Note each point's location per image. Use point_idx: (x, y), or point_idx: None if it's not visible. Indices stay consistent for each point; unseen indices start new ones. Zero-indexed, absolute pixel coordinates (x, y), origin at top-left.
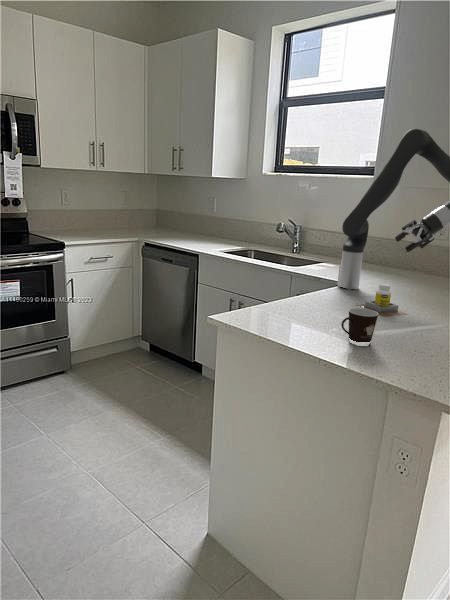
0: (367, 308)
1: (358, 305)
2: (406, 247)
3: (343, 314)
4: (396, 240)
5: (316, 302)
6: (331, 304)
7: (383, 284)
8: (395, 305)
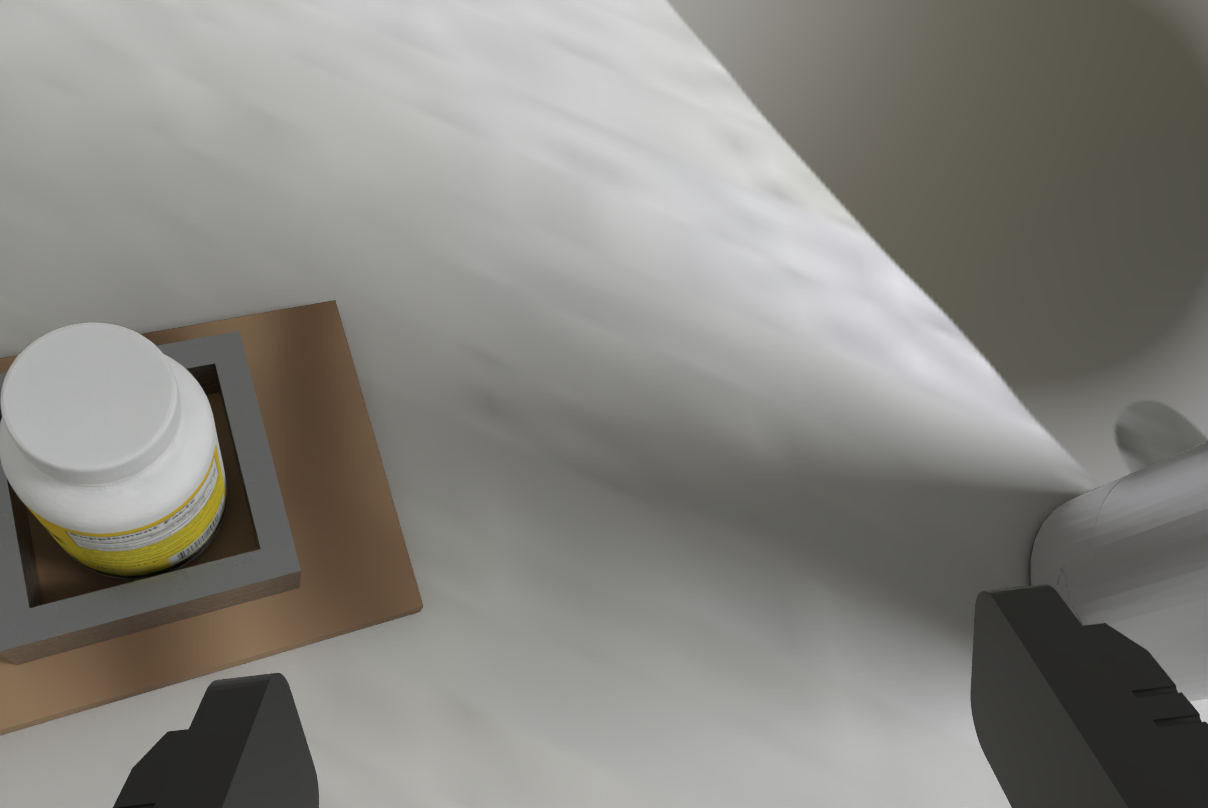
0: None
1: (316, 328)
2: (234, 696)
3: (91, 102)
4: (975, 656)
5: (499, 58)
6: (439, 150)
7: (116, 382)
8: (5, 610)
